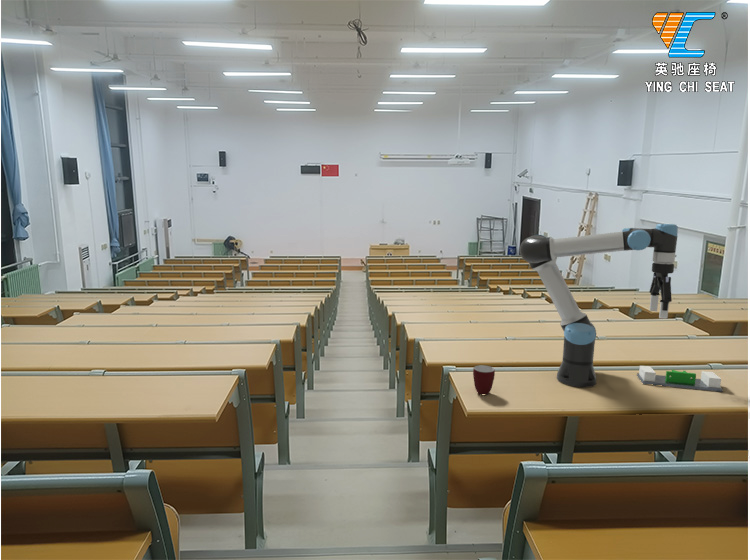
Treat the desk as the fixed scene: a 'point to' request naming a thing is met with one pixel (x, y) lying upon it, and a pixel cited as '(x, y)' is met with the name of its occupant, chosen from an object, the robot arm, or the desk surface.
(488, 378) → the mug
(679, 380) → the pipe clamp
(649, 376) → the mounting rail
